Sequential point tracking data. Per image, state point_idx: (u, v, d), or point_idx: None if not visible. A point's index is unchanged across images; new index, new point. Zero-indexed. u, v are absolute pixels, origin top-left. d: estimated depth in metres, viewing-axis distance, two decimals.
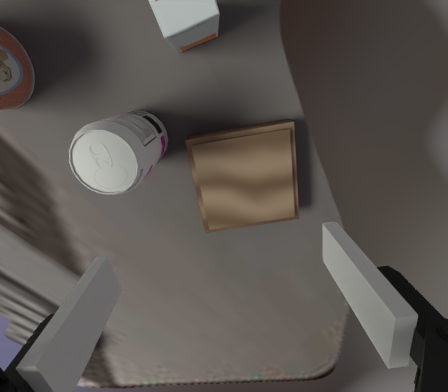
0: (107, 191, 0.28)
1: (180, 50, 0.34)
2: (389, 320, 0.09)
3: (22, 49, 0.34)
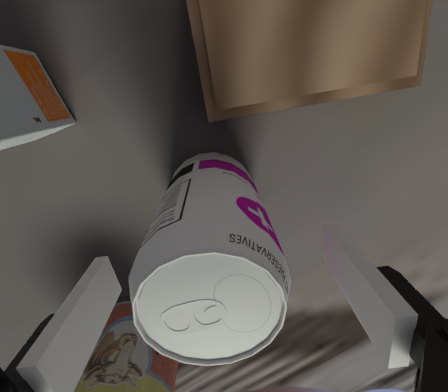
0: (278, 315, 0.12)
1: (63, 120, 0.20)
2: (389, 320, 0.09)
3: None
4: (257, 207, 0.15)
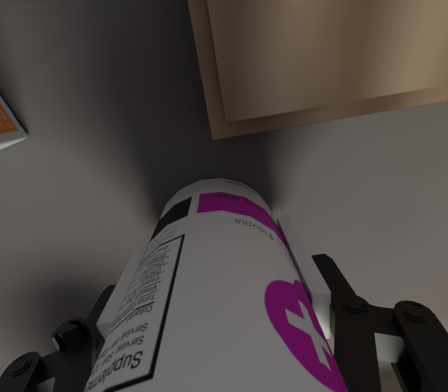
0: None
1: (3, 136, 0.14)
2: (309, 297, 0.10)
3: None
4: (298, 300, 0.08)
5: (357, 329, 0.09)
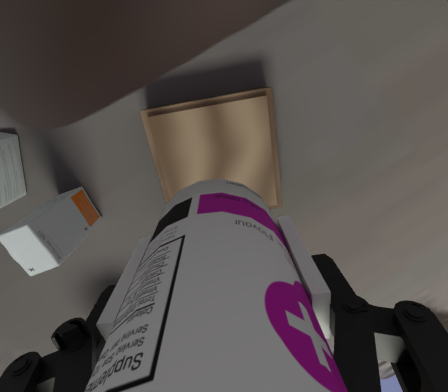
0: None
1: (96, 221, 0.38)
2: (310, 297, 0.10)
3: None
4: (298, 301, 0.08)
5: (357, 329, 0.09)
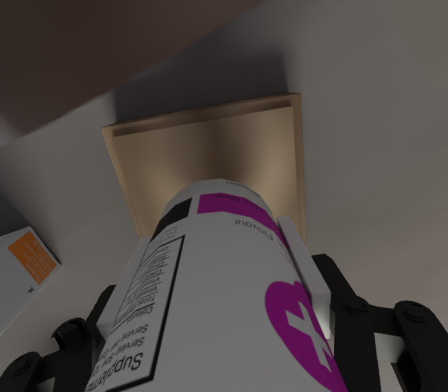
0: None
1: (50, 274, 0.28)
2: (309, 297, 0.10)
3: None
4: (298, 301, 0.08)
5: (357, 329, 0.09)
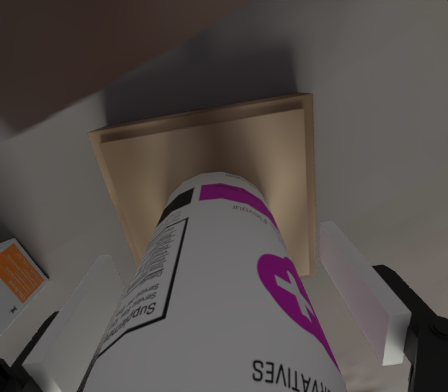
0: None
1: (36, 290, 0.25)
2: (383, 318, 0.09)
3: None
4: (287, 270, 0.10)
5: (447, 358, 0.07)
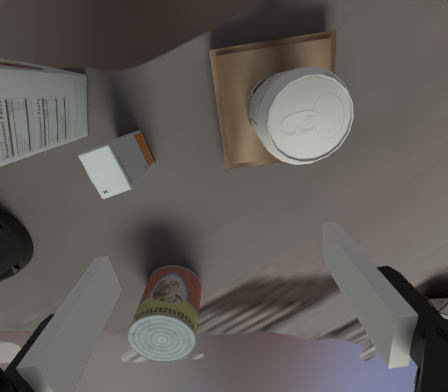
0: (347, 125, 0.21)
1: (152, 164, 0.40)
2: (389, 320, 0.09)
3: (162, 268, 0.50)
4: None
5: None
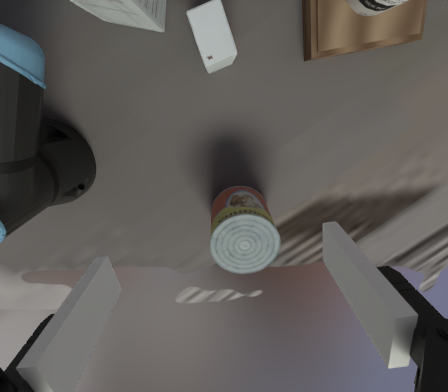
0: None
1: None
2: (389, 320, 0.09)
3: (228, 188, 0.48)
4: None
5: None
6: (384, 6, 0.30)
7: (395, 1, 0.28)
